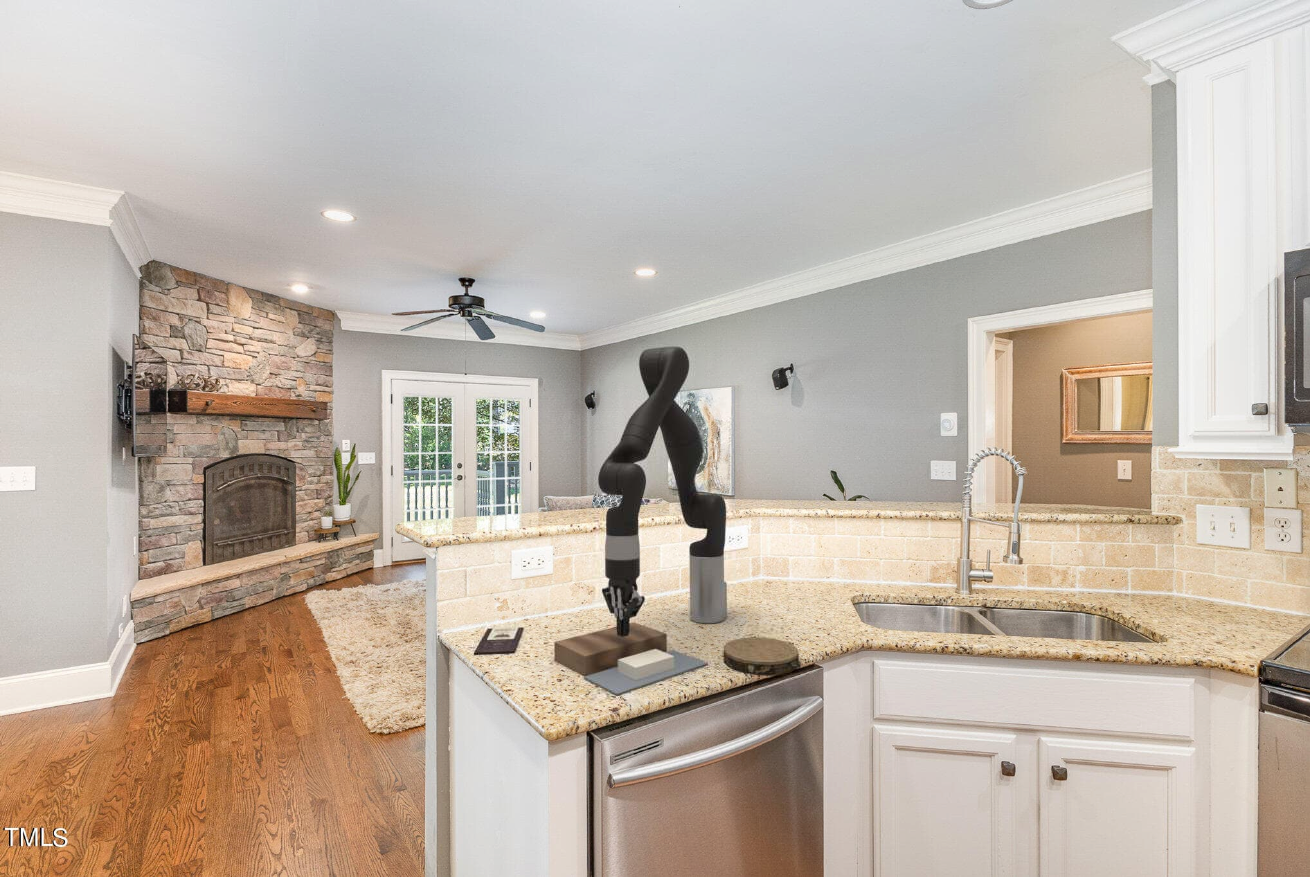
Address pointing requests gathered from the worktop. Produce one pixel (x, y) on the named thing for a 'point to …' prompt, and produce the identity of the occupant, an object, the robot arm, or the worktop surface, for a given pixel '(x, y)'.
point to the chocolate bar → (499, 641)
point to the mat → (623, 684)
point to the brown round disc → (761, 656)
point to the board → (606, 648)
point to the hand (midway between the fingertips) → (622, 635)
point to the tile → (645, 664)
